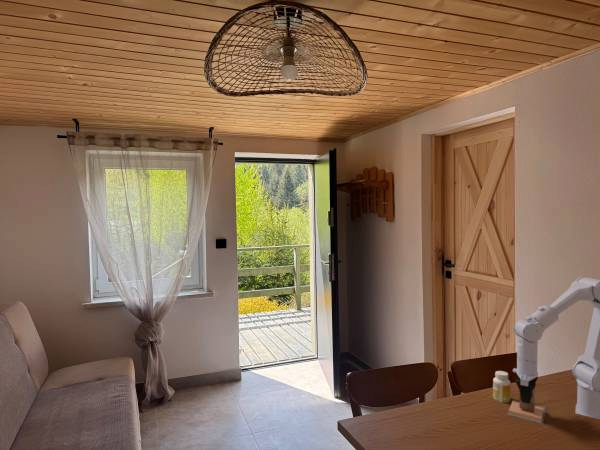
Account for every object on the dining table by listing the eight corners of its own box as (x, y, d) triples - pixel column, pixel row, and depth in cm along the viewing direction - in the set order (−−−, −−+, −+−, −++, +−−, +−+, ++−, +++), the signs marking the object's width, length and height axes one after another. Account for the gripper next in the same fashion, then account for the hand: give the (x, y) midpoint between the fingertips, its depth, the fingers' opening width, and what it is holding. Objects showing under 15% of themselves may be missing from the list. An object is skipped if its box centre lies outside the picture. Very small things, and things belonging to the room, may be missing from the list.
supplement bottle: (510, 399, 142) (511, 371, 142) (509, 405, 138) (509, 377, 138) (494, 395, 145) (494, 368, 145) (491, 401, 141) (492, 374, 140)
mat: (546, 408, 135) (546, 407, 135) (543, 426, 125) (543, 424, 125) (512, 401, 141) (512, 399, 141) (506, 416, 130) (506, 415, 130)
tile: (543, 407, 132) (541, 418, 125) (543, 412, 132) (541, 422, 125) (512, 400, 137) (509, 410, 131) (512, 404, 137) (508, 414, 131)
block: (535, 406, 132) (535, 388, 132) (533, 411, 129) (533, 392, 128) (521, 403, 134) (521, 385, 134) (519, 408, 131) (519, 389, 131)
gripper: (516, 349, 139) (515, 388, 140) (509, 362, 127) (509, 405, 128) (540, 353, 135) (539, 393, 136) (535, 367, 123) (535, 411, 124)
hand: (526, 399), depth 131 cm, fingers closed on block, 4 cm apart
